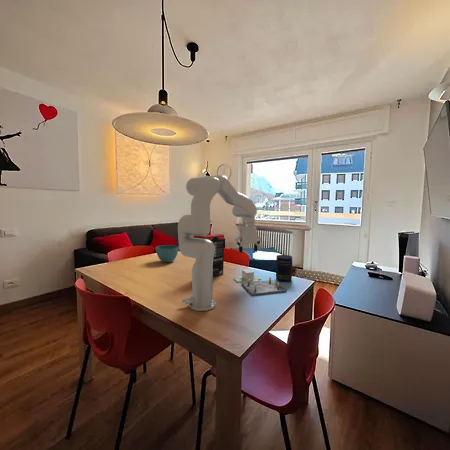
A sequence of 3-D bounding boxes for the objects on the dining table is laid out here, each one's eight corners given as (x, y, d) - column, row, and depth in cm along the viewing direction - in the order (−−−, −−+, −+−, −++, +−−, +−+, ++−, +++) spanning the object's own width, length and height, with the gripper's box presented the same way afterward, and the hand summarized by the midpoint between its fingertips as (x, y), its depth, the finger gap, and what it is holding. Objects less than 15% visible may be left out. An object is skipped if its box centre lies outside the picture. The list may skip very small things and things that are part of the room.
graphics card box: (217, 271, 160) (217, 233, 157) (224, 274, 155) (224, 234, 152) (198, 277, 148) (198, 235, 145) (205, 279, 143) (205, 236, 140)
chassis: (252, 295, 119) (252, 288, 118) (241, 285, 134) (241, 278, 134) (286, 291, 124) (286, 284, 124) (272, 282, 140) (272, 275, 139)
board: (239, 285, 135) (239, 275, 135) (232, 278, 147) (232, 269, 146) (263, 282, 141) (263, 272, 140) (254, 276, 152) (254, 267, 151)
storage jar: (291, 278, 147) (292, 255, 146) (291, 283, 138) (292, 259, 136) (276, 276, 150) (276, 254, 149) (275, 281, 141) (275, 257, 139)
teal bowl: (151, 263, 180) (151, 248, 178) (161, 258, 197) (161, 244, 196) (173, 265, 177) (173, 249, 175) (181, 259, 194) (181, 245, 193)
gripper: (237, 225, 134) (237, 254, 136) (264, 224, 139) (263, 252, 141) (233, 224, 141) (233, 251, 143) (258, 223, 146) (258, 250, 148)
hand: (248, 252), depth 142 cm, fingers open, 9 cm apart
